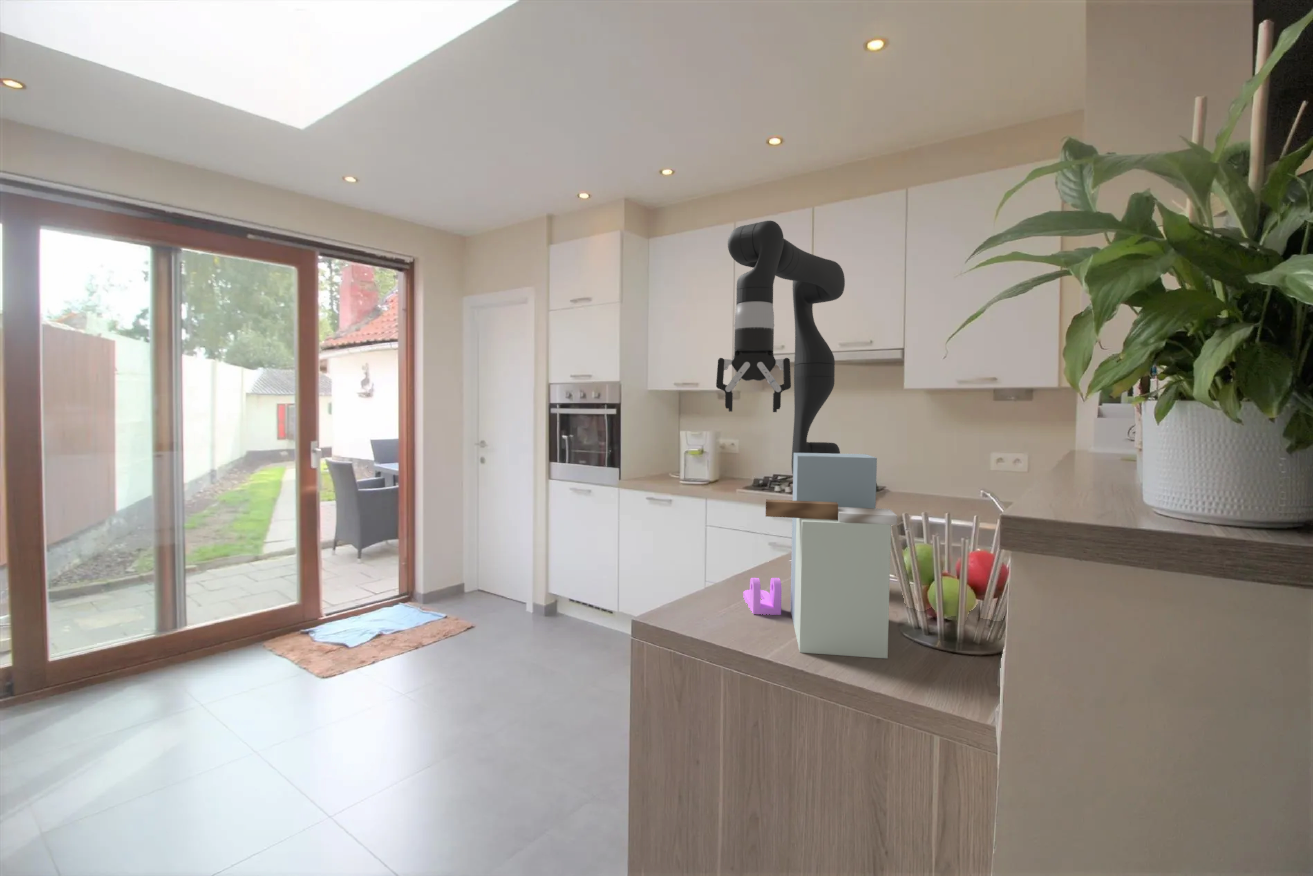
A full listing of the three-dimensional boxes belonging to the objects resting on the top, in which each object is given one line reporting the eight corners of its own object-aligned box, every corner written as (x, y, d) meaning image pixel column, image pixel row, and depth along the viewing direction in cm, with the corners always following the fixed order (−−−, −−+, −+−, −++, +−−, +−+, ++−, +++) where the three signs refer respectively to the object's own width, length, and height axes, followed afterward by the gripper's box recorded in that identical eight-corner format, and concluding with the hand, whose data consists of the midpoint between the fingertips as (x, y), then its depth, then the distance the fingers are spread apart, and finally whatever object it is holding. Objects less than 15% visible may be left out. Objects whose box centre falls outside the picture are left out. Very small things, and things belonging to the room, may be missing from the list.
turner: (765, 518, 101) (765, 503, 101) (766, 512, 107) (766, 497, 107) (896, 524, 96) (897, 508, 96) (889, 517, 103) (889, 502, 103)
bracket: (780, 615, 118) (781, 580, 118) (753, 615, 118) (753, 580, 117) (766, 595, 131) (766, 564, 131) (741, 595, 131) (741, 564, 130)
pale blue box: (799, 652, 99) (803, 461, 98) (790, 609, 121) (793, 452, 120) (887, 658, 97) (892, 463, 96) (861, 614, 119) (866, 454, 117)
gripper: (716, 325, 113) (715, 411, 113) (793, 325, 111) (791, 412, 111) (718, 331, 120) (717, 411, 121) (790, 330, 118) (788, 412, 119)
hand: (752, 411), depth 116 cm, fingers open, 8 cm apart
